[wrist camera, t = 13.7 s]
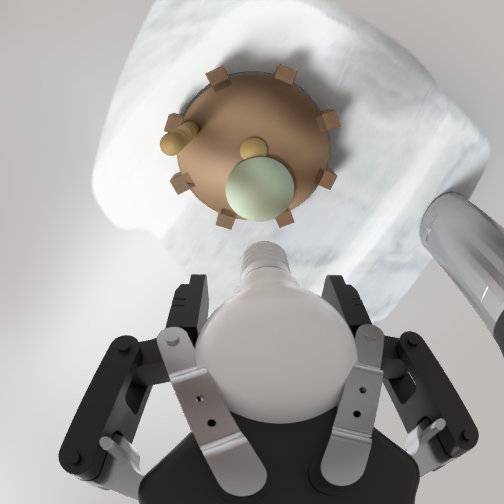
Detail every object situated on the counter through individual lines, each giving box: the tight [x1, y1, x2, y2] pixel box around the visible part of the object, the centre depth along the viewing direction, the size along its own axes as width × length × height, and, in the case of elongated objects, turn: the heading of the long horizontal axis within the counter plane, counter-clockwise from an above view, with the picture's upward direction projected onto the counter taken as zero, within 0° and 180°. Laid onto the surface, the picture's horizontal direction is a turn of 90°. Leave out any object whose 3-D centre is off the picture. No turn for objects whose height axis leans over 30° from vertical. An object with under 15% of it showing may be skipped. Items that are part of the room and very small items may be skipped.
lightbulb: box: [194, 241, 358, 424], centre depth 12 cm, size 6×6×11 cm
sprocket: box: [160, 65, 341, 229], centre depth 22 cm, size 17×17×9 cm
